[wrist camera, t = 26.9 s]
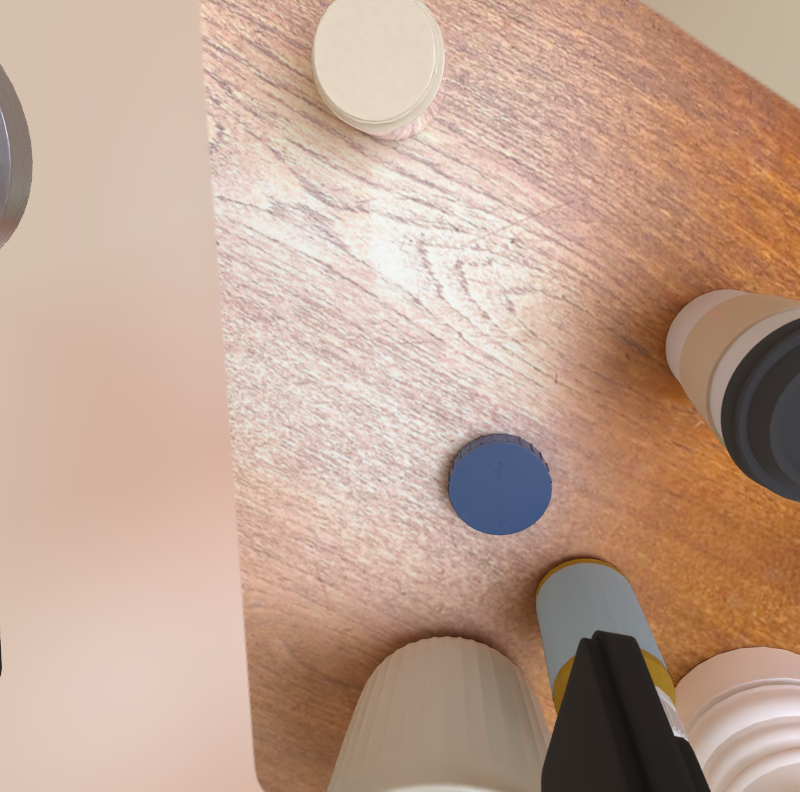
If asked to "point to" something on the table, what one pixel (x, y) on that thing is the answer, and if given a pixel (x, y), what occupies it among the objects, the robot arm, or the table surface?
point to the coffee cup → (744, 379)
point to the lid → (499, 484)
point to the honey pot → (744, 719)
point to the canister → (444, 724)
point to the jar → (380, 65)
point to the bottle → (595, 624)
